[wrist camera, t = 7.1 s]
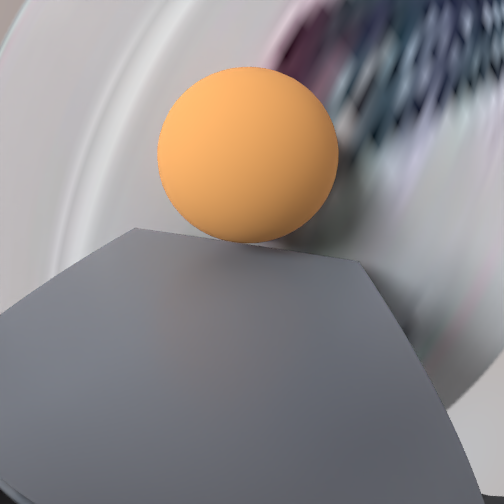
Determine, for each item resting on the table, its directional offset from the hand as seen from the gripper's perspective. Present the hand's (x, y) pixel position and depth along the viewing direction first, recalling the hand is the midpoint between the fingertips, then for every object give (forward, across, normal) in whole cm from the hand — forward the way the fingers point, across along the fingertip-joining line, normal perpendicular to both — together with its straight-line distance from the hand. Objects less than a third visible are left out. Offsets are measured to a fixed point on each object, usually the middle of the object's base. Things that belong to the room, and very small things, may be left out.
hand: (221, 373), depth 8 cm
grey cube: (+2, 0, 0) cm, 2 cm away
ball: (+2, 0, -6) cm, 7 cm away
